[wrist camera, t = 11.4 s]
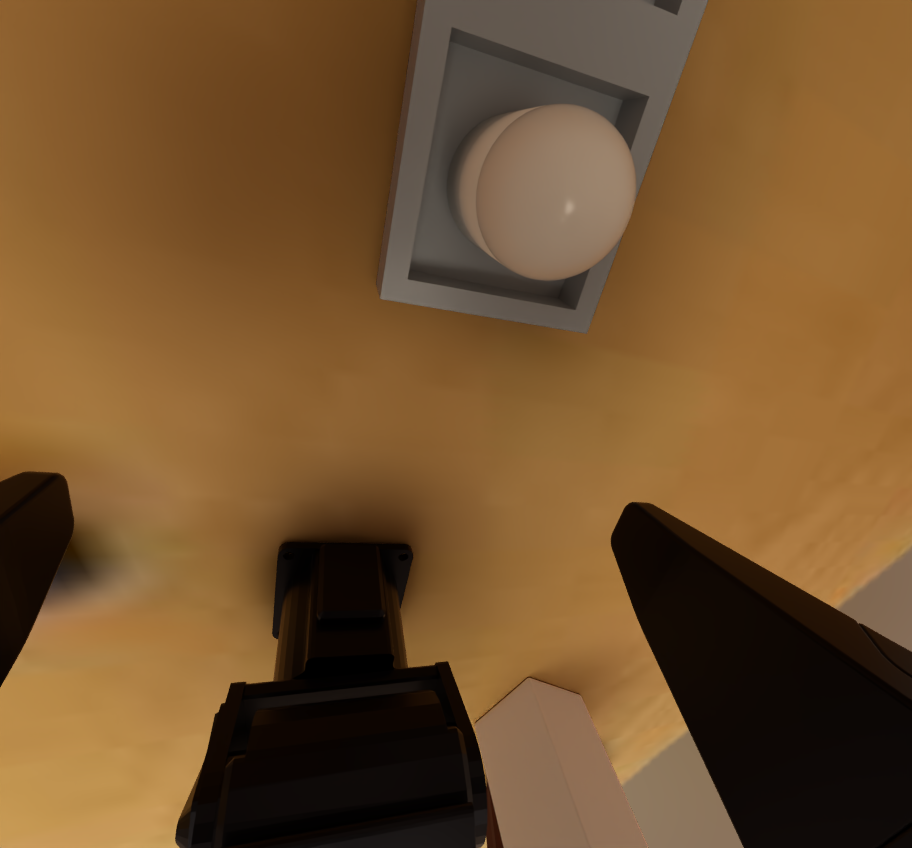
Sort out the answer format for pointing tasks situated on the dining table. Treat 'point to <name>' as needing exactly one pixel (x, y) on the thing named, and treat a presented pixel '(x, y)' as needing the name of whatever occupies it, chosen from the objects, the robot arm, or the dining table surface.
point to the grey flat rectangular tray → (506, 90)
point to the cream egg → (543, 189)
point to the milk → (552, 773)
